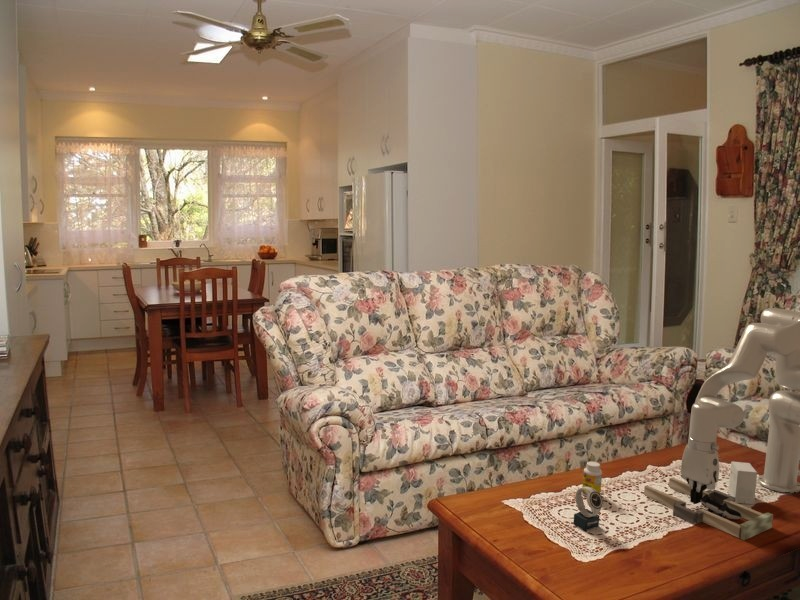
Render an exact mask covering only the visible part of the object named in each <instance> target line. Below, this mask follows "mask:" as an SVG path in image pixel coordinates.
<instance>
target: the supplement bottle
mask: <svg viewBox="0 0 800 600" xmlns="http://www.w3.org/2000/svg"><path fill="white" fill-rule="evenodd" d="M582 474H583V475H582V487H581V488H583V487H591V488H593V489H595V490H596V491H597V492H598V493H599V494H600V495H601V491H602V480H603V479H602V477H603V472H602V470H601V464H600V463H599V462H597V461H587V462H586V467H584V469H583V473H582ZM581 494H582V495H583V496H584V497H586V498H587V494H586V490H584V489H583V491H582V493H581Z"/></svg>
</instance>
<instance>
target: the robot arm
mask: <svg viewBox="0 0 800 600" xmlns="http://www.w3.org/2000/svg"><path fill="white" fill-rule="evenodd" d="M768 354H772V355H775V356H776V357H775V358H776V359H775V381H776V383H777V384H778V385H779V386H780V387H782V388H785V390H776V391H774V392H773V393H772V394H771V395H770V397H769V399H768V405H767V406H768V417H769V426H768V427H769V428H768V436H767V444H766V445H767V446H766V453H765V464H764V469H763V470H764V471H763V474H760V475H759V476H757V477H758V478H757V481H758V484H759V485H760V486H762V487H764V488H766V489H769V490H772V491H774V490H775V492H778V493H779V492H780V493H785V492H790V493H789V494H794V492H796V493H799V492H800V482H799V481H797V480H798V477H799V476H800V469H799V465H800V311H794V310H789V309H784V308H777V307H769V308H766V309H764V310H763V311H762V312H761V313H760V322H751V323H749V324H748V325H746V327H745V328H744V330H743V332H742V334H741V337H740V338H739V341H738V343H737V345H736V346H735V349H734V351H733V354H732V355H731V357H730V359H729V362H728V363H727V364H726V365H725V366H724V367H722V368H720V369H719V370H717V371H716V372H714V373H713V374H711V375H710V376H709V377H708V378H707V379H706V380H705V381H704V382H703V383H702V385H701V387H700V389H699V391H698V394H697V396H696V398H695V401H694V403H693V404H692V406H691V412H690V420H689V433H688V439H687V440H688V441H687V444H686V446H685V448H684V449H683V453H682V458H681V461H680V462H681V463H680V477H681V479H683V480H684V481H686V483H688V484H689V488H690V489H691V493H690V496H689V498H690V500H689V502H690V503H693V504H694V505H698V504H699V503H700V504H701V499H702V496H703V491H704V490H705V491H706V490H716V484H717V483H718V482H719V477H720V474H719V473H720V461H719V460H720V459H719V458H720V457H719V452H718V451H719V450H720V446H719V445H717V438H718V437H717V436H718V430H719V428H721V429H733V428H737V427H739V426H740V425H741V424H742V423H743V421H744V419H745V412H744V410H743V408H742V407H741V406H740V405H737V403H733V402H730V401H727V400H725V399H721V398H718V397H717V396H718V394H720V391H722V390H723V388H725V387H726V386H728V385H731V384H733V383H738V382H741V381H742V382H743V381H748V380H753V379H755V378H757V376H758V375H759V372H760V371H761V368H762V366H763V364H764V362H765V359H766V358H767V356H768ZM786 389H788V390H786ZM797 392H798V393H797Z"/></svg>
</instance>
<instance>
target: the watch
mask: <svg viewBox="0 0 800 600" xmlns="http://www.w3.org/2000/svg"><path fill="white" fill-rule="evenodd" d="M583 489H584V490H586V494H587V497H586V503H587V505H588V507H589V508H590V509H586V506H585V503H584V498H583V496H582V495H583V493H582V491H583ZM574 499H575V504H576V507H577V510H578V512H576V513H574V514H573V525H574V526H576V527H578V528H580V529H581V530H582V531H585V532H586V531H588V530H591V529H592V530H593V529H595V528H597V527H599V526H600V525H599V524H600V515H599V514H600V512H601V511H602V507H603V505H604V504H603V503H604V499H603V497H602V495H601V493H600V494H599V493H598V492H597V491H596V490H595V489H593V488H591V487H583V488H582V487H580V488H577V490H576V492H575V497H574Z"/></svg>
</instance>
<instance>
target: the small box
mask: <svg viewBox="0 0 800 600" xmlns="http://www.w3.org/2000/svg"><path fill="white" fill-rule="evenodd" d="M757 477H758V471H757V470H756V469H755V468H754V467H753V465H752V464H751V463H750V462H742V461H731V463H730V471H729V482H728V492H727V493H728V495H730V496H733V497H735V503H737V504H744V503H745V505H755V499H756V498H755V496H756V487H757V480H758V478H757Z"/></svg>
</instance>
